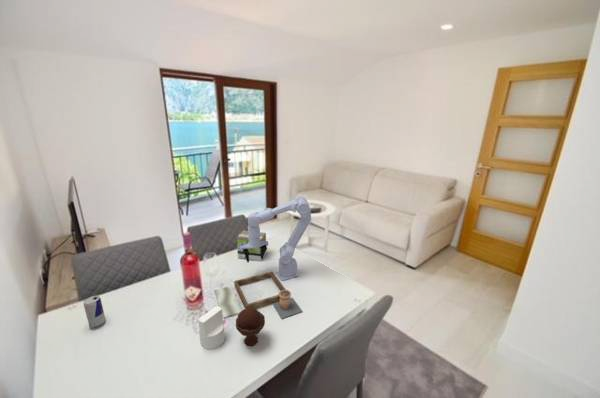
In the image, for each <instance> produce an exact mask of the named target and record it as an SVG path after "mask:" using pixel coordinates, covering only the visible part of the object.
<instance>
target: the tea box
mask: <svg viewBox="0 0 600 398" xmlns="http://www.w3.org/2000/svg"><path fill="white" fill-rule="evenodd" d="M260 241H267V233H266V232H261V231H260ZM248 243H249V235H248V230H242V231H241V232H240V233H239V234H238V236H237V237H236V245H237V246H236V247H237V249H236V250H237V258H238V259H242V260H246V256H245V254H244V252H243V251H241V250H240V246H243V245H245V244H248ZM248 251H249V261H257V262H262V261H263V259H261V256H260V247H258V248H251V249H248ZM266 254H267V251H266V252H265V254H264V257H265V256H266Z"/></svg>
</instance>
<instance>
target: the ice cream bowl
mask: <svg viewBox="0 0 600 398" xmlns="http://www.w3.org/2000/svg"><path fill="white" fill-rule="evenodd" d="M241 310H242V311H241V312H240V313H239V314H238V315H237V318H235V328H236V330H237V331H238V332H239V333H240V334H241V335H242V336H243V337H245V338H244V339H243V344H244V345H245V346H246V347H250V348H251V347H254V346H256V345H257V344H258V342H259V336H257V335H259V334H260V332H261V331H262V330H263V328H265V324H266V319H265V315H264V314H263V313H261V311H259V310H258V309H253V308H251V309H250V308H247V309H245V308H244V309H241Z"/></svg>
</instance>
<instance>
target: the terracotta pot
mask: <svg viewBox="0 0 600 398" xmlns="http://www.w3.org/2000/svg"><path fill="white" fill-rule="evenodd" d="M278 295H279V297H280V309H281V310H288V309H289V308H290V298H292V296H291V295H292V293H291V291H290V290H287V289H286V290H282V291H280V290H279V294H278Z"/></svg>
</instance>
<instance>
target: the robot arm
mask: <svg viewBox="0 0 600 398" xmlns="http://www.w3.org/2000/svg"><path fill="white" fill-rule="evenodd" d="M307 200H308V199H307V198H305V197H303V196H300V197H297V198H293V199H292V200H290V201H288V202H286V203H283V204H280V205H278V206H276V207H274V208H270V207H264V208H263V210H260V211H254V212H251V213H249V215H248V217H247V225H248V228H247V231H248V235H249V243H248V244H245V245H243V246H240V250H241V251H243V252H244V254H245V256H246V259H245V260H246V262H247V263H250V260H249V251H248V249H251V248H258V247H260V256H261V259H262V260H263V259H264V258H265V256H264V254H265V252H266V253H267V249H268V246H269V241H268V240H266V241H260V232H261V231H260V229H261V227H260V224H262V223H266V222H268V221H271V220H273V219H274V217H275V216H277V215H280V214H283V213H286V212H293V213H298V214H299V216H300V219H299V220H298V222H297V224H296V226H295V228H294V229H293V231H292V233H291V234H290V237H288V240H287V242H285V243H284V244H283V245H282V246H281V247H280V248H279V258H278V271H276V272H275V273H276V274H275V275H277V277H278V278H279V279H280V280H281V281H285V280H288V279H289V280H290V279H292V278H296V277H298V262H297V259H296V258H295V257H293V256H294V253H295V249H296V248H297V245H298V243H299V242H300V240H301V239H302V236H303V235H304V234H305V231H306V230H307V228H308V227H309V225H310V223H311V222H312V210H311V209H312V208H311V207H310V205H309V203H308V201H307ZM265 255H266V254H265Z"/></svg>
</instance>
